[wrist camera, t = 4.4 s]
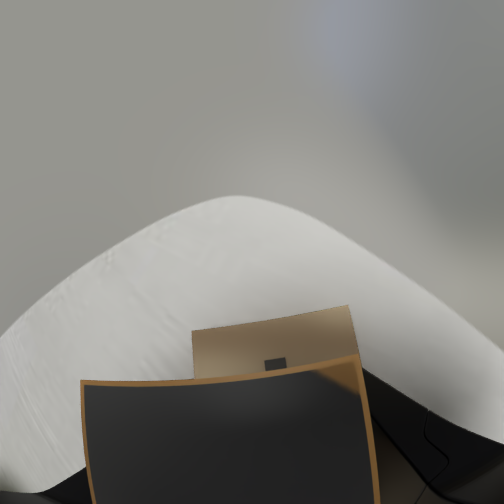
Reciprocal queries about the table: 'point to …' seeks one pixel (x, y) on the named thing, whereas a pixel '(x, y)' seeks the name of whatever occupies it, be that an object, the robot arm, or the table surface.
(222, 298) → the table surface
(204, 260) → the table surface
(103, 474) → the fader tab
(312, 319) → the fader track
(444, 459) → the robot arm
